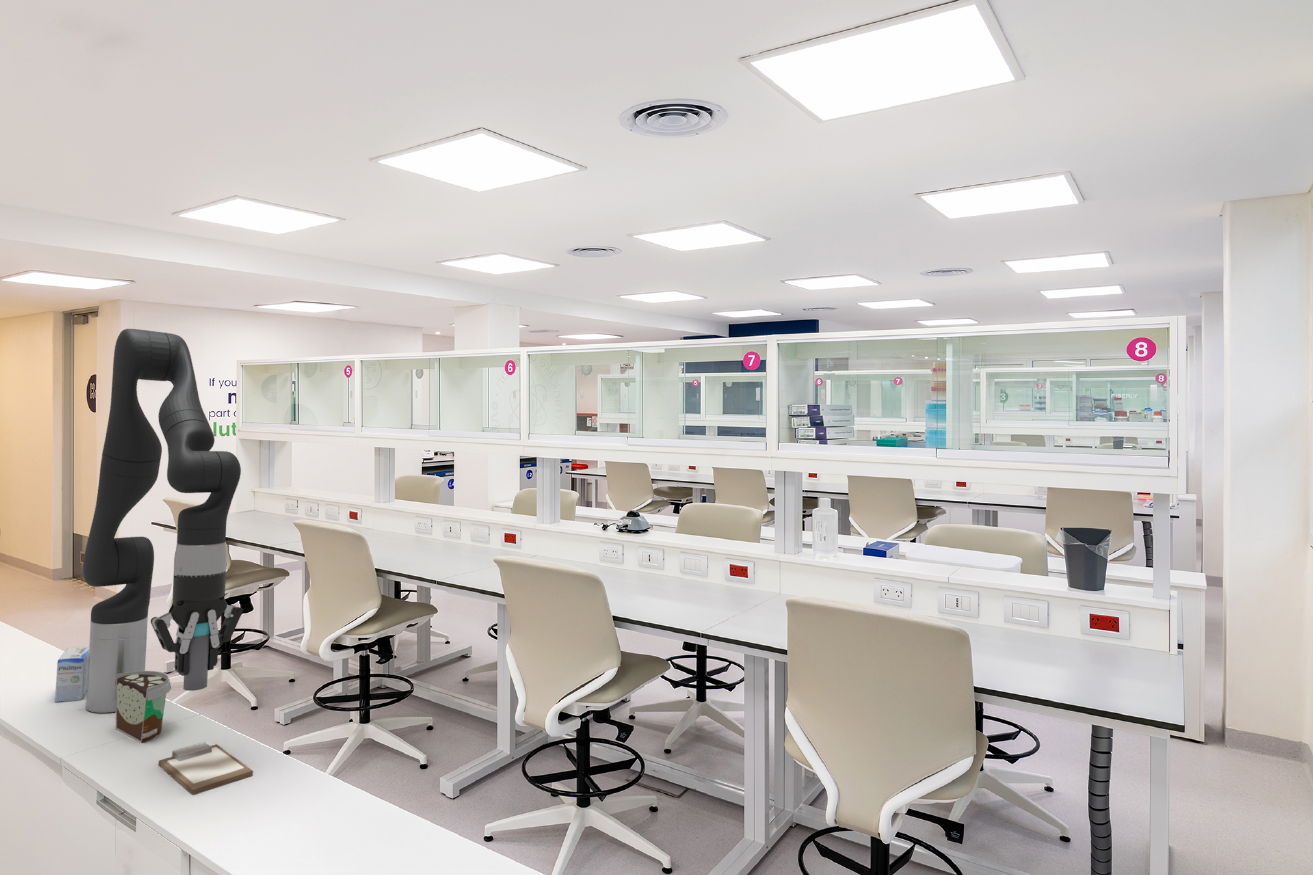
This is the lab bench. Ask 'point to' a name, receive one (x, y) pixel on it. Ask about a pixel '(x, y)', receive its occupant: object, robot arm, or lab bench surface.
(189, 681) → the marker
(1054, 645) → the lab bench surface
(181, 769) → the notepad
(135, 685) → the food container
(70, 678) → the medicine box
